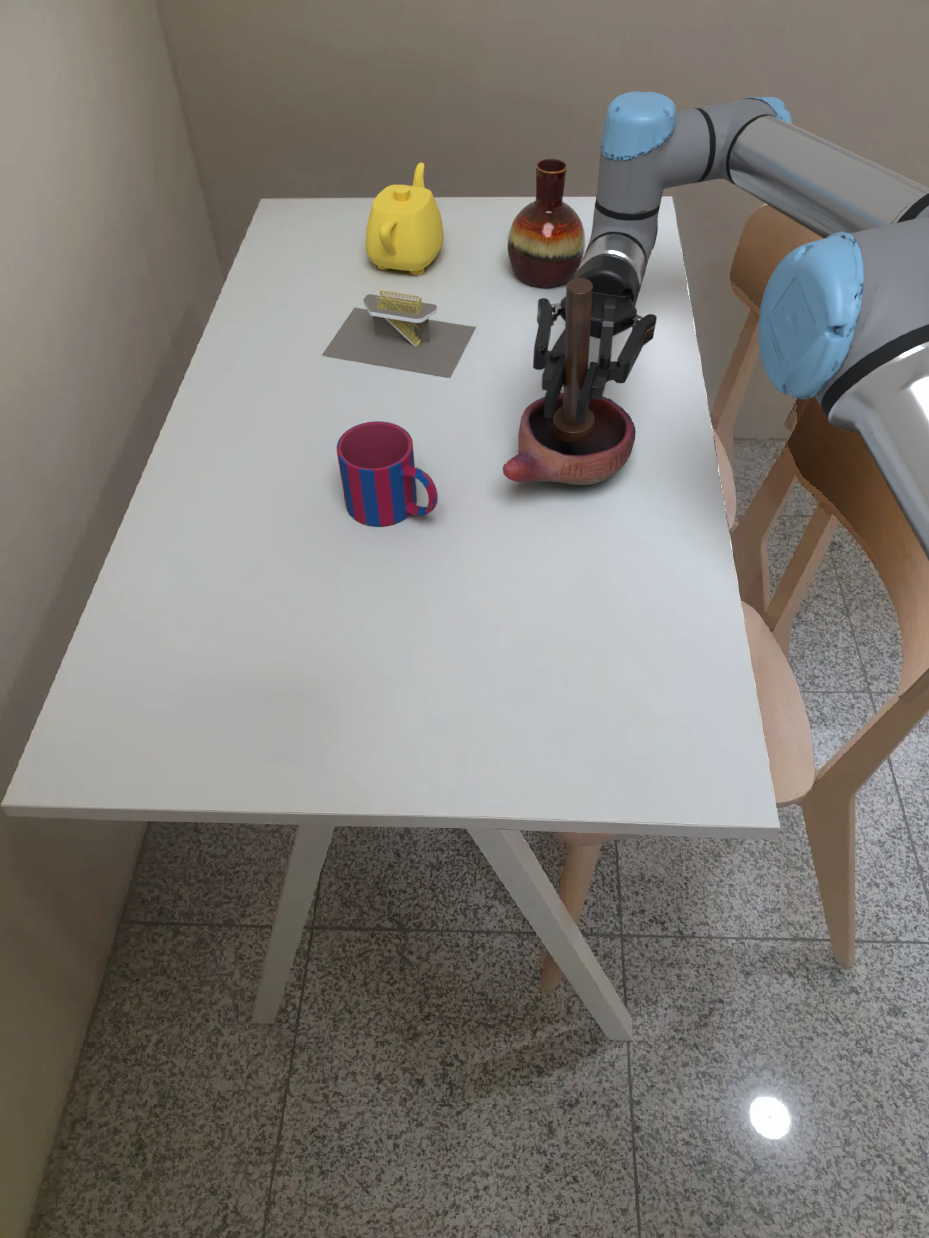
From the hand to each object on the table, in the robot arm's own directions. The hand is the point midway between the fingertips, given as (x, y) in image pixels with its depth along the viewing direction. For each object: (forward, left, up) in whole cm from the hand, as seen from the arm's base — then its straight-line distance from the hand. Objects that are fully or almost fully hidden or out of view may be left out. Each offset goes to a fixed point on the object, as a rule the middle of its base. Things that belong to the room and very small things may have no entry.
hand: (564, 409), depth 82 cm
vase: (+12, -49, -15) cm, 52 cm away
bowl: (-1, -7, -14) cm, 16 cm away
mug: (+17, +4, -15) cm, 23 cm away
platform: (+27, -27, -15) cm, 41 cm away
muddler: (0, -6, -7) cm, 9 cm away
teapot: (+33, -48, -15) cm, 60 cm away
